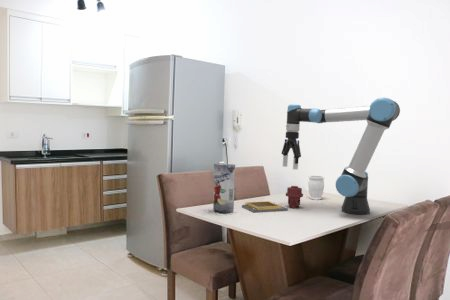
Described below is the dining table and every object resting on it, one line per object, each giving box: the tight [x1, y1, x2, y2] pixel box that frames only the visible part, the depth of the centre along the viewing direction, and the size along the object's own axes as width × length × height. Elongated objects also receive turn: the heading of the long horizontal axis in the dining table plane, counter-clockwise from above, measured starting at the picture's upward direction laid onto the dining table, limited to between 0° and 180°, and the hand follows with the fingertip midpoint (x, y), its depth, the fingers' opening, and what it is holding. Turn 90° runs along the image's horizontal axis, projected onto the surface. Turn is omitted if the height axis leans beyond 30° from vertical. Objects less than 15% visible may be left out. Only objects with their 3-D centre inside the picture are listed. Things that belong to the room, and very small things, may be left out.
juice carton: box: [212, 161, 236, 214], centre depth 200 cm, size 9×10×27 cm
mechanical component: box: [285, 185, 304, 209], centre depth 218 cm, size 12×10×10 cm
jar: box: [307, 175, 325, 201], centre depth 250 cm, size 11×10×15 cm
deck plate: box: [241, 201, 289, 213], centre depth 211 cm, size 16×21×3 cm
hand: (289, 167), depth 217 cm, fingers open, 13 cm apart
